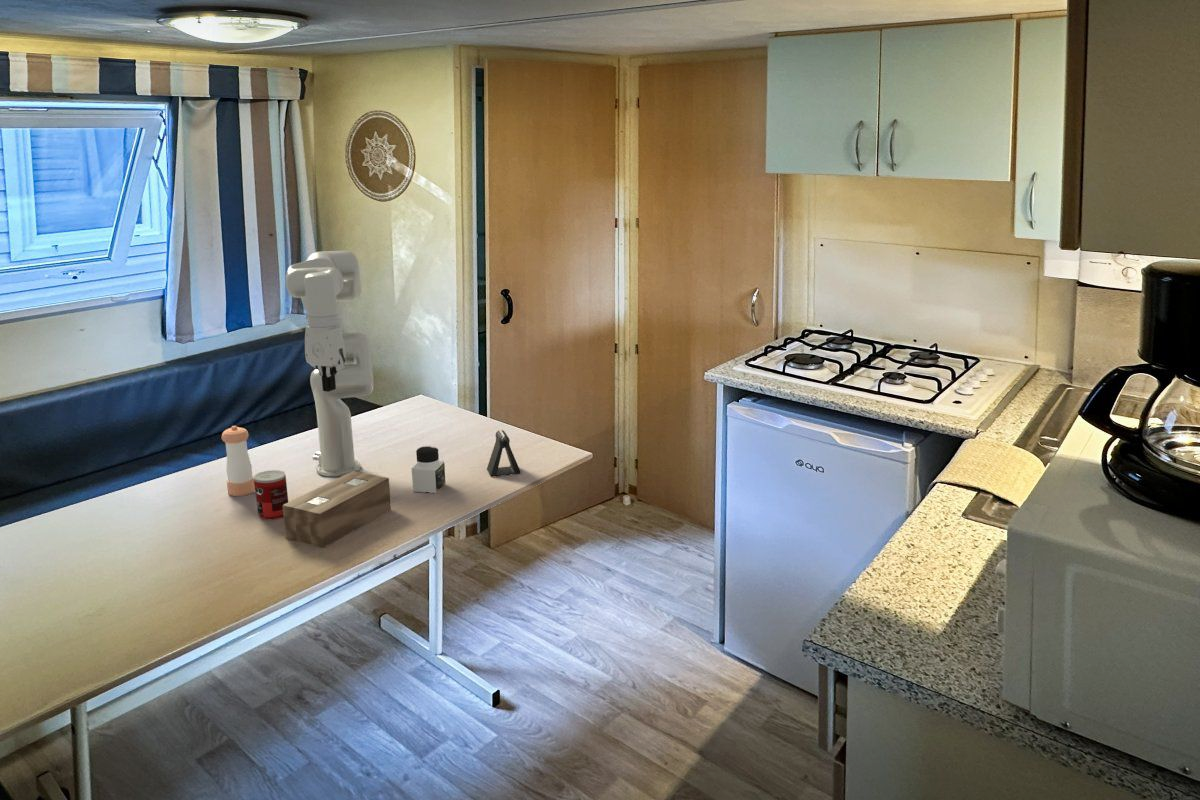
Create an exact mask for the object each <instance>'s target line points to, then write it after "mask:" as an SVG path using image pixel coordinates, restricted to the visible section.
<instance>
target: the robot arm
mask: <svg viewBox="0 0 1200 800" xmlns="http://www.w3.org/2000/svg"><path fill="white" fill-rule="evenodd" d="M360 273H361V270H360V265H359V261H358V258H357V256H356V255H355V254H354V253H353V252H352V251H351V250H330V251H329V250H325V251H322V250H321V251H316V252H314V253H312V254H310V255H309V256H308V258H306V260H305V261H301V262H297V263H294V264H291V265H290V266H288V269H287V271H286V274H285V286H286V287H285V288H286V291H287V293H288V294H289V296H290V297H292V298H295V299H296V298H298V299H301V303H302V305H303V308H304V310H305V312H306V314H307V315H306V316H305V320H306V321H307V326H306V327H305V332H304V354H305V355H304V356H305V360H306V361H305V362H306V363H307V364H309V365H310V366H311V368H312V367H313V368H314V370H313V371H311V373H310V378H309V379H310V380H309V381H310V387H311V391H312V395H313V399H314V402H315V403H314V405H315V410H316V420H317V421H316V422H317V429H318V440H319V441H318V442H319V449H320V451H316V452H315V453H314V455H313V456H312V460H313V461H318V465H317V466H316V473H317V474H319V475H321V476H323V477H331V478H333V477H334V478H335V477H342V476H344V475H346V474H348V473H350V472H352V471H356V472H359V471H360V470H361V462H359V461H358V460H356V459H355V450H354V440H353V437H354V436H353V427H352V414H351V410H350V408H349V406H348V405H347V404H346V403H345V402H344V401H343V400H342V399H346V398H359V397H365V396H369V395H370V394H372V392H373V389H374V375H373V374H374V373H373V364H372V357H371V356H372V355H371V354H372V353H371V347H370V342H369V338H368V337H367V335H366V334H365V333H364V332H363V331H359V330H358V331H356V330H353V331H343V330H342V329H343V326H342V319H341V317H340V316H339V314H338V313H339V312H338V303H340V302H341V303H342V302H343V303H344V302H354V301H356V300H358V299H359V298H360V297H361V292H362V288H361V287H362V285H361V274H360Z"/></svg>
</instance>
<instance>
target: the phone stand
mask: <svg viewBox="0 0 1200 800" xmlns="http://www.w3.org/2000/svg"><path fill="white" fill-rule="evenodd" d="M501 432H502V433H501ZM502 434H503V435H504V436H503V435H502ZM510 441H511V440H510V438H509V436H508V435H507V433H506V431H505V430H503V429H501V431H500V430H499V429H498V430H497V431H496V433H495V443H494V446H493V448H492V451H491V455H490V457H489V460H488V464H487V467H486V470H487V472H488V474H489V477H491V478H494V477H493V476H496V477H502V476H501V475H505V476H511V475H510V474H514V475H520V474H522V473H521V472H522V471H521V469H520V467H519V465H518V462H517V460H516V458H515V455H514V453H513V450H512V448H511V445H510ZM503 449H505V453H506V456H507V459H508V461H509V462H508V463H509V466H501V467H499V465H500V461H501V457H502V453H503Z"/></svg>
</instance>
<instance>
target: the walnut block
mask: <svg viewBox="0 0 1200 800" xmlns="http://www.w3.org/2000/svg"><path fill="white" fill-rule="evenodd" d="M355 478H356V479H360V480H365V481H367V482H365V483H363V484H361V485H359V486H352V485H348V484H345V483H347V482H349V481H351V480H353V479H355ZM389 479H390V477H387V476H386V477H385V476H379V475H376V474H370V473H365V472H359V471H352V472H350V473H348V474H346V475H344V476H339V477H338V478H335V479H333V480H331V481H329V482H327V483H324V485H322V486H319V487H317V488H315V489H312V490H310V491H309V492H307V493H304V494H302V495H300V496H299V497H297V498H294V499H292V500H290V501H288V503H286V504H284V505H282V506H283V515H284V517H283V523H284V532H285V539H286V540H290V541H295V542H297V543H298V542H299V543H303V544H306V545H310V546H314V547H317V548H318V547H319V548H322V549H324V548H326V547H328V546H329V545H331V544H333V543H334V542H336V541H338V540H339V539H342V538H343V537H345V536H347V535H350V533H352V532H354V531H356V530H358V529H359V528H362V526H363V527H364V525H366V524H368V523H369V522H371V521H373V520H375V519H377V518H379V517H381V516H382V515H385V514H386V513H388V512H389V510H390V511H391V510H392V506H391V505H392V504H391V503H392V502H391V491H390V480H389ZM316 497H321V498H326V499H330V500H329V501H327V502H325V503H323V504H321V505H319V506H318V505H314V504H309V503H306V502H308V501H310V500H312V499H314V498H316ZM387 511H388V512H387ZM385 512H386V513H385Z"/></svg>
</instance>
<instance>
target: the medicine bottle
mask: <svg viewBox="0 0 1200 800" xmlns="http://www.w3.org/2000/svg"><path fill="white" fill-rule="evenodd" d="M415 453H416V463H415V465H413V466H412V468H411V477H412V478H411V481H412V491H413V492H416V493H425V492H429V493H428V494H438V492H439V491H441V489H442V488H443V487H444V486H445V485H446V470H445V469H446V468H445V467H446V465H445V461H443V460H440V459H439V456H440V455H439V449H438V448H437V447H436V446H433V445H423V446H421V447H418V448H417V449H416V451H415Z"/></svg>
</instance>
